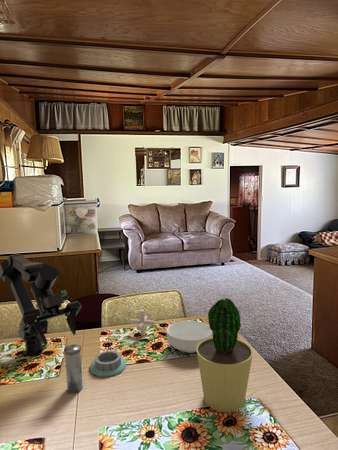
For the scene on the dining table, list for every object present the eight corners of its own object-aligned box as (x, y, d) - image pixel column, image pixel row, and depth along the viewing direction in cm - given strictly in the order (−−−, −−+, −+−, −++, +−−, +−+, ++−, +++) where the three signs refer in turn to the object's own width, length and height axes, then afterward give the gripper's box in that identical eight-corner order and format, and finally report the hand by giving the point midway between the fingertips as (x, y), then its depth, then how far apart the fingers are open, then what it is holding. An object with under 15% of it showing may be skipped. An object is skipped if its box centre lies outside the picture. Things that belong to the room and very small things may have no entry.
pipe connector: (151, 340, 129) (150, 316, 127) (127, 338, 131) (126, 314, 129) (157, 329, 138) (157, 306, 137) (134, 327, 140) (133, 305, 139)
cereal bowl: (220, 343, 126) (220, 325, 125) (199, 364, 112) (199, 344, 111) (181, 333, 135) (180, 316, 134) (158, 351, 121) (157, 332, 120)
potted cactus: (234, 377, 104) (235, 284, 100) (263, 409, 89) (265, 302, 85) (188, 388, 99) (187, 291, 95) (211, 423, 85) (210, 311, 81)
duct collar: (92, 358, 117) (91, 349, 117) (126, 355, 118) (126, 347, 118) (87, 378, 105) (87, 368, 105) (125, 375, 106) (125, 365, 106)
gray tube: (68, 384, 102) (65, 344, 100) (84, 383, 103) (82, 343, 101) (65, 394, 97) (62, 352, 96) (81, 393, 98) (79, 351, 96)
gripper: (19, 290, 99) (36, 338, 92) (77, 277, 111) (96, 318, 105) (12, 309, 106) (28, 354, 99) (68, 294, 118) (85, 334, 112)
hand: (61, 339), depth 104 cm, fingers open, 9 cm apart
